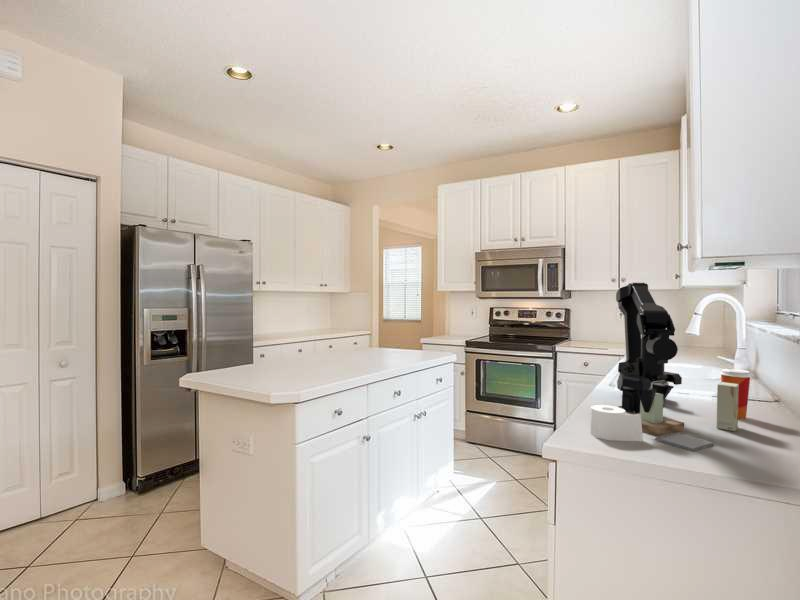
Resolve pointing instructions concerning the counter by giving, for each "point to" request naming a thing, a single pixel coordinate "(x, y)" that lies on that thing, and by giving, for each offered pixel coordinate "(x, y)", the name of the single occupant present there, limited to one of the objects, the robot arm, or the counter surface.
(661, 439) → the coaster
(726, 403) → the skincare box
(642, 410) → the green block
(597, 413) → the toilet paper
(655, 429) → the pocket block
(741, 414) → the paper cup
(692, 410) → the counter surface
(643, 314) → the robot arm
